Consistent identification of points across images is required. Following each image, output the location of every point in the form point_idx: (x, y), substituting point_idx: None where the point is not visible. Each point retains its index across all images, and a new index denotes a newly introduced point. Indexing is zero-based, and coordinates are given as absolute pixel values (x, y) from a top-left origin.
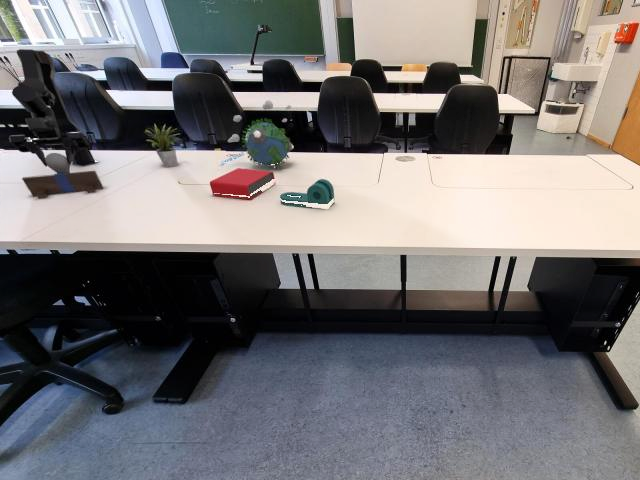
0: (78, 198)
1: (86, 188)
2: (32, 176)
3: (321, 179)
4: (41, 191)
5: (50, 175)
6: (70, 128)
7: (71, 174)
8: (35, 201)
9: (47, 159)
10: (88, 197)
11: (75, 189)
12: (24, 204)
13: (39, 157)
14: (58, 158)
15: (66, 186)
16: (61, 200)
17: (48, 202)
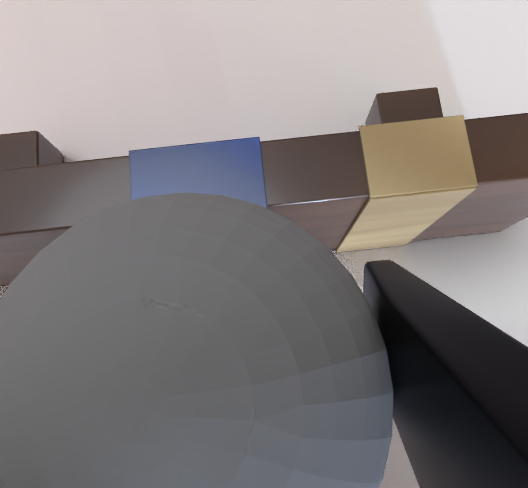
0: (116, 39)
1: (35, 133)
2: (516, 172)
3: None
4: (397, 111)
5: (301, 155)
6: None
7: (65, 167)
8: (421, 58)
9: (293, 244)
10: (45, 42)
11: None
12: (474, 10)
13: (490, 334)
14: (60, 239)
15: None
16: (232, 27)
17: (314, 7)
